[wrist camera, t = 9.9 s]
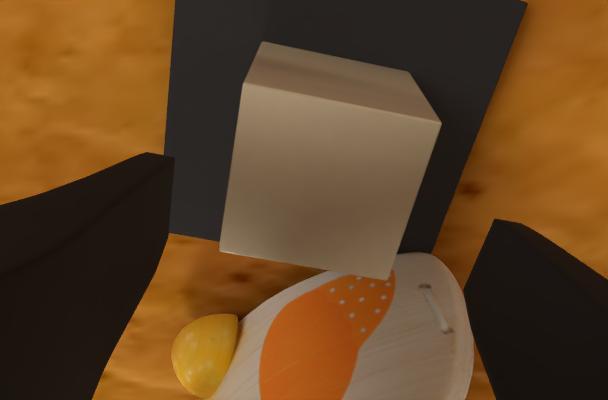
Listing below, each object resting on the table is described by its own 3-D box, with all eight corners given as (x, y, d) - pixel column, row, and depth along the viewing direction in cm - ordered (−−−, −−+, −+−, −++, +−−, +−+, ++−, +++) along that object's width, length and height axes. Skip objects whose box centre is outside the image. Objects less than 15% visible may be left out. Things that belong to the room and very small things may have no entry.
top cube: (370, 200, 18) (387, 281, 14) (240, 176, 17) (218, 252, 13) (409, 71, 16) (443, 122, 12) (261, 40, 15) (242, 82, 11)
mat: (420, 271, 20) (422, 278, 19) (160, 225, 19) (157, 231, 19) (523, 1, 15) (528, 3, 15) (183, -75, 14) (180, -75, 14)
